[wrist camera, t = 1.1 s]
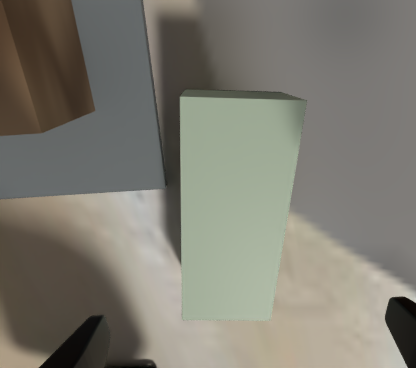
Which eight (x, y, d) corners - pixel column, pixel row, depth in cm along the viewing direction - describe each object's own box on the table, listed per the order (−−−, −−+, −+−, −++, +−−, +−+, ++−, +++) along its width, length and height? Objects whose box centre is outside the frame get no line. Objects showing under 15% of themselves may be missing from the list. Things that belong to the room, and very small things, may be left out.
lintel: (280, 91, 14) (306, 100, 11) (257, 271, 19) (270, 320, 16) (185, 88, 14) (179, 96, 11) (185, 271, 19) (181, 320, 15)
